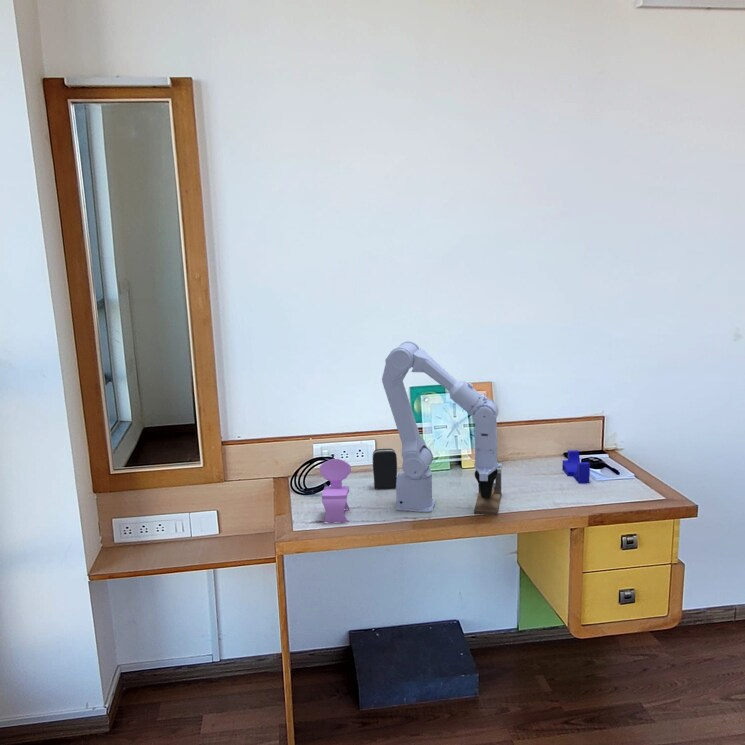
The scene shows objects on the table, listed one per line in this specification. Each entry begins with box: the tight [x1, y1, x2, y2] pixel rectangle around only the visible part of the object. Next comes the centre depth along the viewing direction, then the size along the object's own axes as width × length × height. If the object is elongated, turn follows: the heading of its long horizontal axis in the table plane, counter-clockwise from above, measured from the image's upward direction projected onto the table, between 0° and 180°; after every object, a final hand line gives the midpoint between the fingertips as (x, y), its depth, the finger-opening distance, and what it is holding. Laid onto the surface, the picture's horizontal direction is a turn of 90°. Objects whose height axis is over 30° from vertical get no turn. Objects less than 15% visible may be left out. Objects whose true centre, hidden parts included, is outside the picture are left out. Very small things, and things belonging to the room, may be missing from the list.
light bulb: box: [480, 482, 495, 500], centre depth 188 cm, size 10×4×4 cm, turn 166°
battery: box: [372, 448, 398, 490], centre depth 201 cm, size 7×4×11 cm, turn 93°
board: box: [473, 492, 502, 516], centre depth 188 cm, size 15×6×1 cm, turn 166°
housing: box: [477, 468, 502, 495], centre depth 193 cm, size 3×6×6 cm, turn 76°
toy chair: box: [318, 458, 352, 523], centre depth 182 cm, size 8×9×15 cm
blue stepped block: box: [561, 449, 591, 485], centre depth 204 cm, size 12×4×6 cm, turn 0°
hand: (486, 497), depth 182 cm, fingers closed
